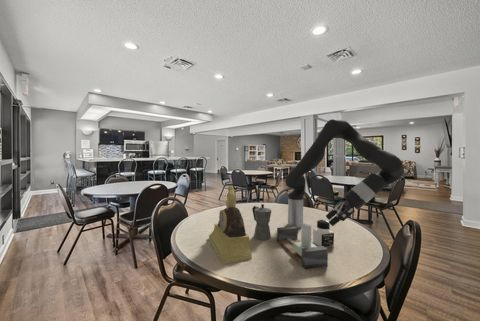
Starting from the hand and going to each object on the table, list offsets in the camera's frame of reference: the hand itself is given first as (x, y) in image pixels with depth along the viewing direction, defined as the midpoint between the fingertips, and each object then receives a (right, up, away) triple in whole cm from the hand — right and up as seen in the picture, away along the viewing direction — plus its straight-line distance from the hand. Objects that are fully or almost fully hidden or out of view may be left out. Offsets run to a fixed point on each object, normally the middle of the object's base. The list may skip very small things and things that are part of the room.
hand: (328, 221), depth 91 cm
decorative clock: (-43, -17, +13) cm, 48 cm away
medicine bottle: (+4, -17, +17) cm, 24 cm away
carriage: (-9, -14, +2) cm, 17 cm away
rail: (-10, -17, +8) cm, 21 cm away
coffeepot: (-26, -16, +27) cm, 41 cm away
